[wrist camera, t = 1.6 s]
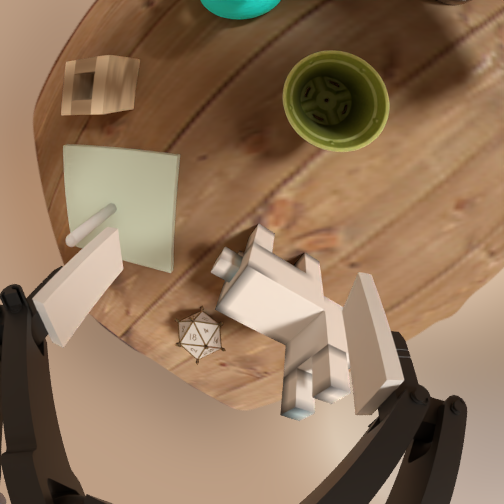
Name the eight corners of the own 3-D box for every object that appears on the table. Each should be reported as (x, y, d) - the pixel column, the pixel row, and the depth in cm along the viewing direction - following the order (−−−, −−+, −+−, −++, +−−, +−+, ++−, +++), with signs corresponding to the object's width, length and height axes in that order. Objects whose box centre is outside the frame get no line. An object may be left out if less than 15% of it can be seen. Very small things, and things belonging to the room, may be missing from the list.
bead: (99, 62, 26) (66, 61, 21) (140, 59, 26) (109, 54, 20) (93, 109, 30) (61, 115, 24) (133, 109, 30) (102, 114, 24)
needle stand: (67, 144, 33) (11, 166, 23) (180, 154, 33) (133, 181, 23) (75, 242, 43) (35, 280, 32) (173, 269, 42) (141, 321, 32)
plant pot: (346, 152, 30) (364, 169, 23) (272, 120, 29) (267, 126, 22) (376, 86, 25) (404, 82, 18) (301, 51, 25) (305, 34, 17)
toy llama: (242, 213, 36) (197, 325, 19) (345, 278, 39) (367, 399, 22) (216, 254, 40) (166, 367, 23) (313, 309, 43) (316, 425, 26)
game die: (215, 298, 49) (234, 318, 40) (218, 340, 50) (237, 366, 41) (166, 304, 46) (174, 327, 36) (172, 348, 47) (181, 377, 38)
